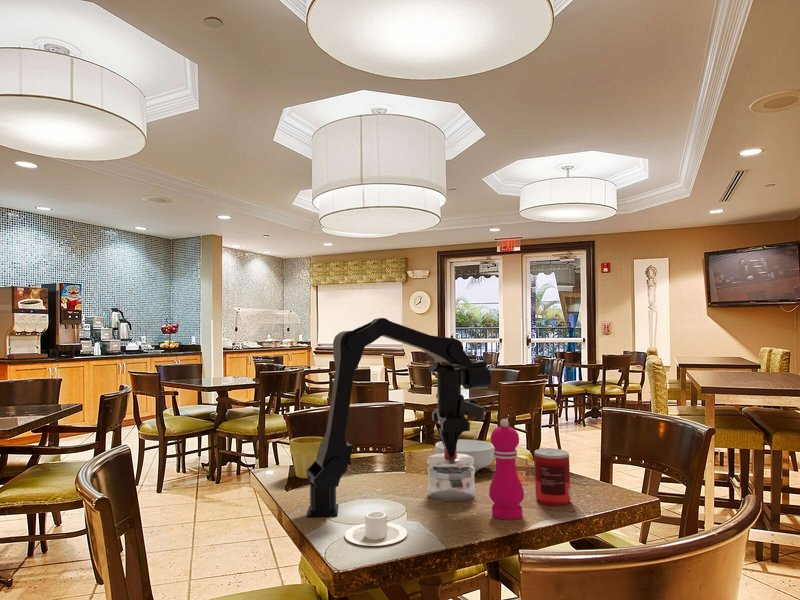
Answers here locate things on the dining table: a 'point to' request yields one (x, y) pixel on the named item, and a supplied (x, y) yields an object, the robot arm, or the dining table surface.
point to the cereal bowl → (472, 451)
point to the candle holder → (376, 529)
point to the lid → (450, 460)
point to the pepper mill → (505, 474)
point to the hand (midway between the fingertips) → (450, 455)
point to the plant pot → (304, 453)
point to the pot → (451, 483)
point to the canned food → (552, 476)
